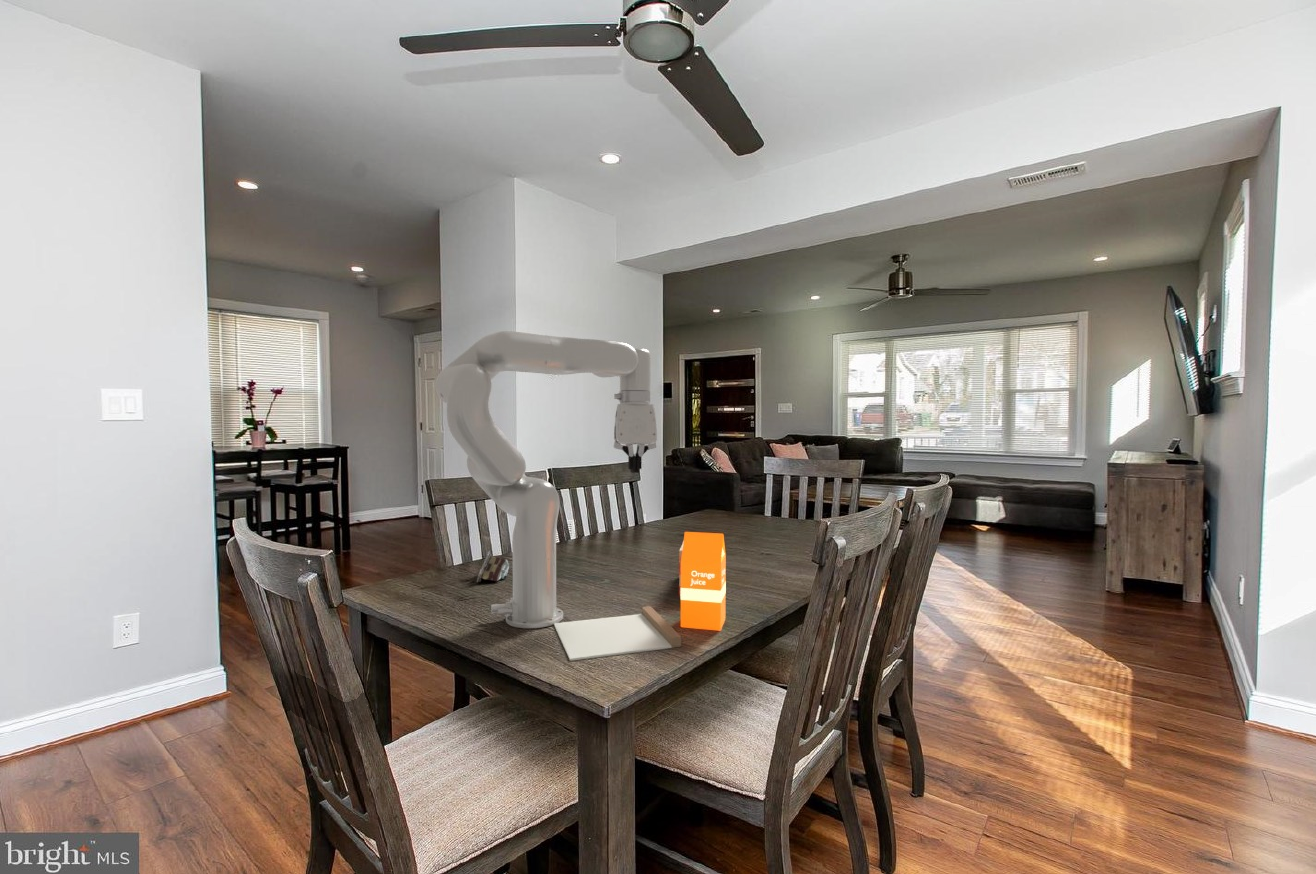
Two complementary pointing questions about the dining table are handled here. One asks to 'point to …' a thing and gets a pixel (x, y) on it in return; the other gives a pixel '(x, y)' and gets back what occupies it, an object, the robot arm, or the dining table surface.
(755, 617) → the dining table surface
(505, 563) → the chocolate cake
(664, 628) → the mat
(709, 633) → the dining table surface
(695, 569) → the orange juice
